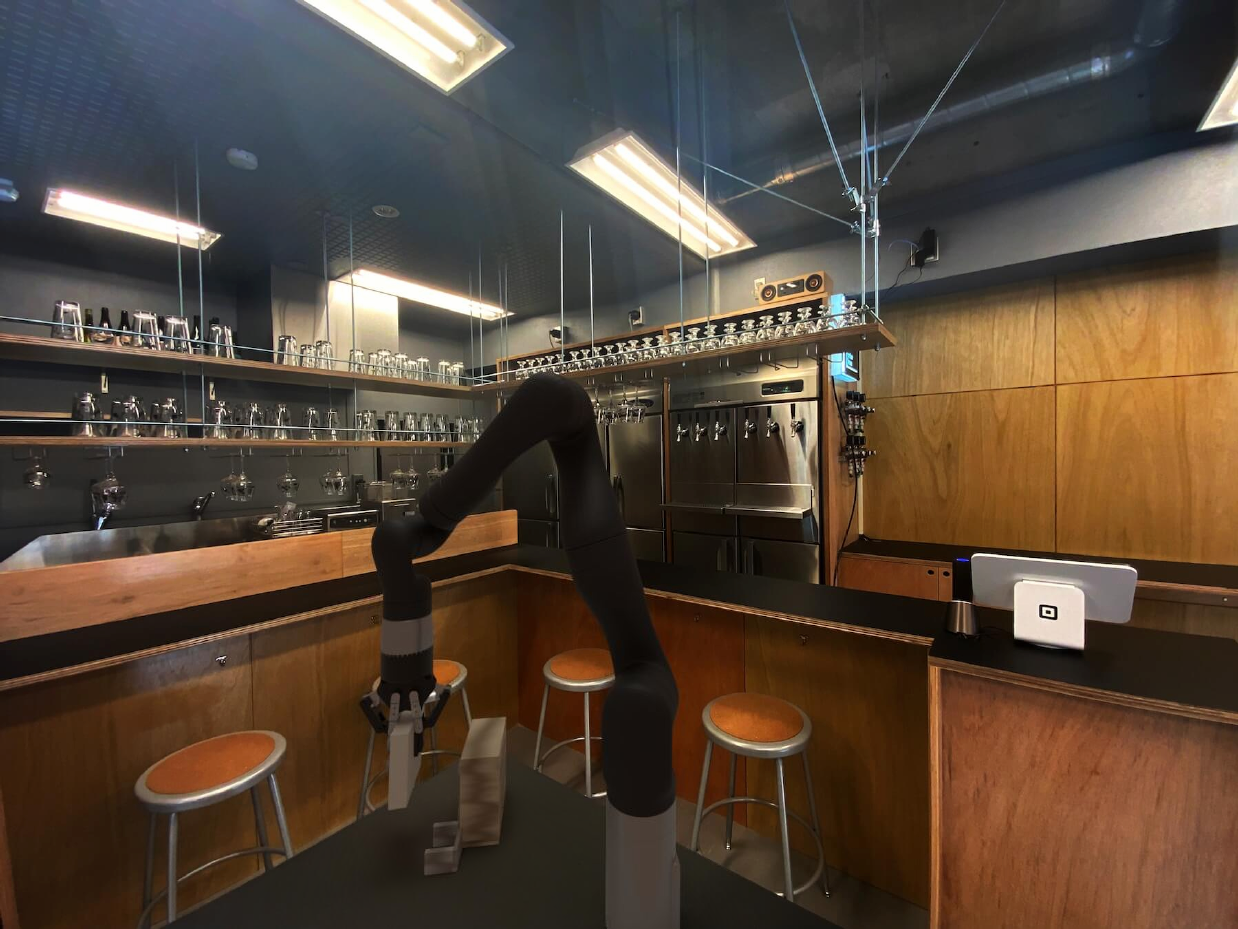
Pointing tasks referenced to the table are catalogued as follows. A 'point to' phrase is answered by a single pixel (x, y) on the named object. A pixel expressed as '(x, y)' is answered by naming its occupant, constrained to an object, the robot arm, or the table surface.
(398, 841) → the table surface
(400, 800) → the door
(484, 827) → the cabinet
